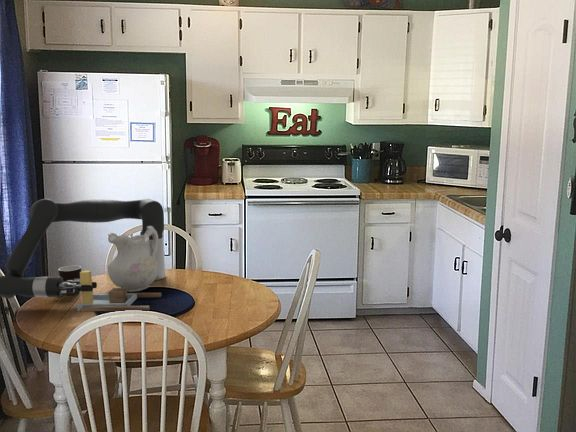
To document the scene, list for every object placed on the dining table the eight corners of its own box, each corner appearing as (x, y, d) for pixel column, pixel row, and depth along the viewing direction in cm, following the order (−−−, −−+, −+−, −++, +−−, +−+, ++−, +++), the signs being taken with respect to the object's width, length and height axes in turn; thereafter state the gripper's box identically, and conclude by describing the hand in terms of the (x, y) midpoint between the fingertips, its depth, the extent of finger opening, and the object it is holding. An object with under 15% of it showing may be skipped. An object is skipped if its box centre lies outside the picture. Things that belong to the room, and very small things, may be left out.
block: (114, 301, 247) (113, 287, 246) (127, 300, 247) (126, 287, 246) (109, 305, 242) (108, 291, 241) (123, 305, 242) (122, 291, 241)
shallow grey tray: (90, 301, 252) (87, 267, 250) (137, 300, 251) (135, 266, 248) (77, 312, 239) (74, 276, 237) (126, 311, 238) (124, 275, 236)
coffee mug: (76, 296, 259) (74, 271, 257) (56, 295, 260) (53, 270, 259) (91, 288, 270) (89, 263, 268) (71, 287, 272) (69, 263, 270)
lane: (99, 299, 254) (99, 292, 254) (161, 298, 252) (161, 292, 252) (81, 314, 237) (81, 307, 236) (148, 313, 235) (148, 307, 234)
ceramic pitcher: (139, 283, 279) (131, 224, 276) (175, 284, 269) (167, 223, 266) (101, 297, 261) (91, 234, 257) (138, 299, 251) (129, 234, 247)
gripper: (39, 282, 238) (86, 281, 236) (55, 272, 252) (100, 271, 250) (41, 302, 239) (88, 302, 238) (57, 291, 253) (102, 290, 252)
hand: (94, 286), depth 244 cm, fingers open, 3 cm apart
